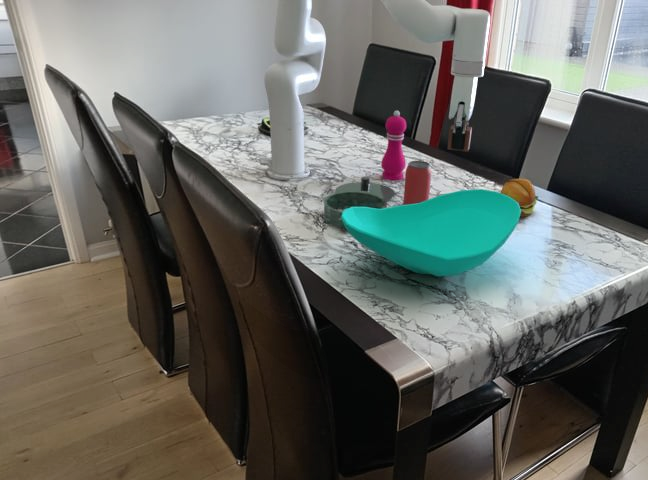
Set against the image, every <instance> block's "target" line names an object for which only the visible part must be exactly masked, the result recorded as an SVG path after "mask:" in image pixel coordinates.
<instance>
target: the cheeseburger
mask: <svg viewBox="0 0 648 480" xmlns="http://www.w3.org/2000/svg"><path fill="white" fill-rule="evenodd" d="M500 193H501V194H504V195H507V196H509V197H511V198H512V199H513V200H515V201H516V202H518V204H519V207H520V209H521V214H520V217H527V216H530V215H532V213H534V209H535V206H536V204H537V203H538V202H537V200H538V199H539V196H538V195H536V190H535V188H534V185H533V183H532V182H531V181H530V180H528V179H525V178H514V179H509V180H507V181H506V182H505V183H504V184H503V186H502V188H501V190H500Z"/></svg>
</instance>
